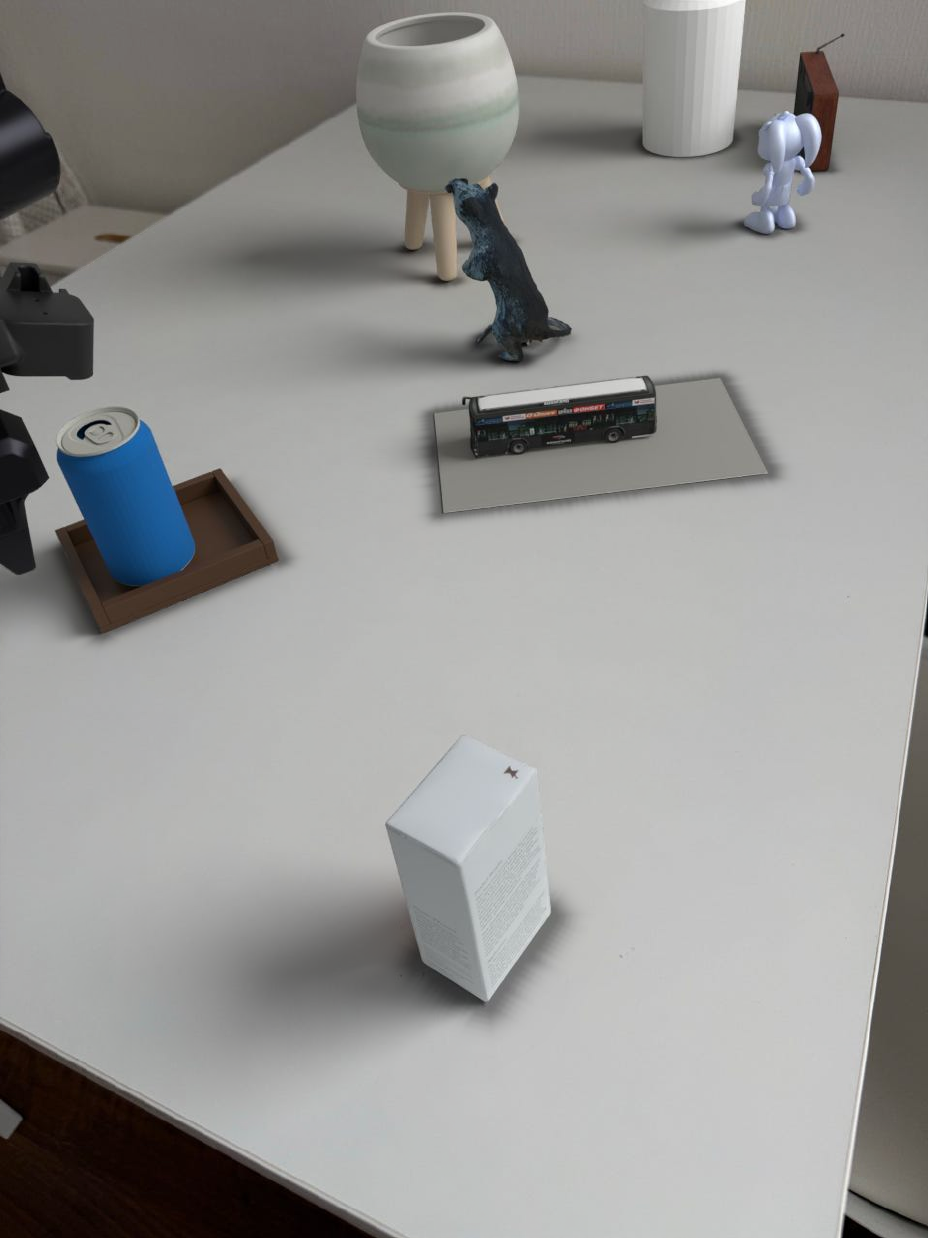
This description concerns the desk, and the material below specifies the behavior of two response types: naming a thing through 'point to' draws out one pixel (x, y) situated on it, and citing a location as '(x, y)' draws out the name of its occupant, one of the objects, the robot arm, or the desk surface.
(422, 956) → the cosmetic box
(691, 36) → the bottle
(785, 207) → the toy figurine
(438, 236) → the planter
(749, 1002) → the desk surface
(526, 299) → the sculpture
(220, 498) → the walnut tray
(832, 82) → the radio
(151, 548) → the beverage can
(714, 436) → the model bus display
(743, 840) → the desk surface
